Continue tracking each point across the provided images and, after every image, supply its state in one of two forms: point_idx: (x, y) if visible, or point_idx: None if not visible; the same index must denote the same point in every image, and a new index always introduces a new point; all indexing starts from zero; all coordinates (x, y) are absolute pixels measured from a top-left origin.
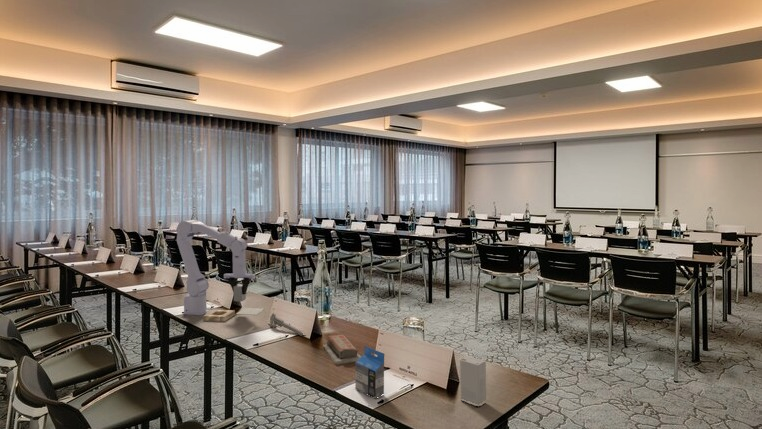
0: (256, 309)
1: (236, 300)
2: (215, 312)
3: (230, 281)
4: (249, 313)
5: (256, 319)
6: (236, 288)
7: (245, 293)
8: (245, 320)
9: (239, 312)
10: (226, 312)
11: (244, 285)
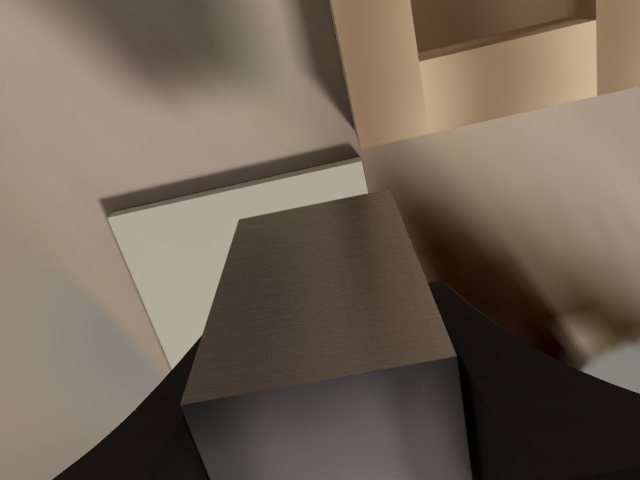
0: None
1: (339, 203)
2: None
3: (635, 443)
4: (215, 226)
5: (4, 94)
6: (349, 331)
7: None
8: (95, 6)
9: None
10: (438, 55)
11: (100, 459)
